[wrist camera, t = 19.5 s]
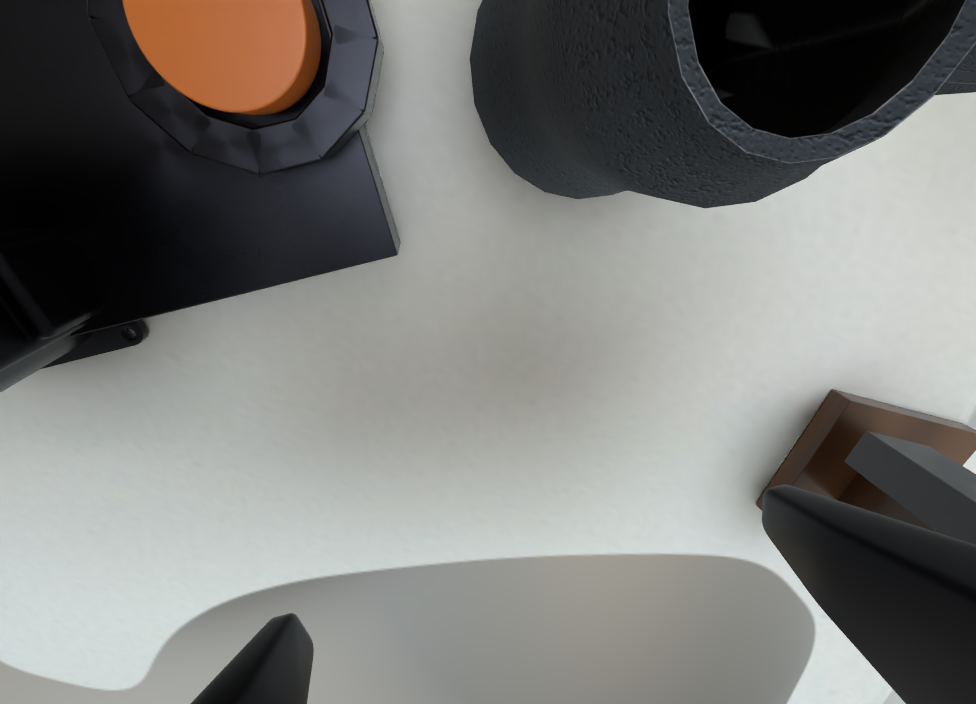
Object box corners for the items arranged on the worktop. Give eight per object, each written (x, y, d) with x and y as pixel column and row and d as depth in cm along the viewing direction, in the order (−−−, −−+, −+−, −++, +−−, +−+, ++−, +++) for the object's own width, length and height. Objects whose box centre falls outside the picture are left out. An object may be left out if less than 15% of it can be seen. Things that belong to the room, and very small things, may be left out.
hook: (734, 500, 27) (955, 757, 16) (809, 383, 24) (1147, 596, 13) (881, 526, 30) (1160, 764, 18) (965, 424, 27) (1359, 631, 15)
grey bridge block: (784, 541, 24) (977, 757, 15) (865, 430, 21) (1149, 616, 13) (844, 551, 25) (1056, 759, 16) (929, 445, 22) (1230, 629, 14)
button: (205, 130, 13) (175, 129, 12) (128, -45, 11) (80, -75, 10) (343, 97, 13) (331, 91, 12) (286, -82, 11) (264, -118, 10)
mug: (466, 194, 18) (517, 263, 8) (475, -114, 14) (595, -723, 4) (745, 205, 20) (1086, 274, 10) (820, -69, 16) (1508, -434, 6)
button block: (108, 316, 18) (30, 358, 15) (-91, 0, 14) (-272, -50, 10) (435, 234, 19) (438, 256, 15) (345, -103, 14) (317, -187, 10)
